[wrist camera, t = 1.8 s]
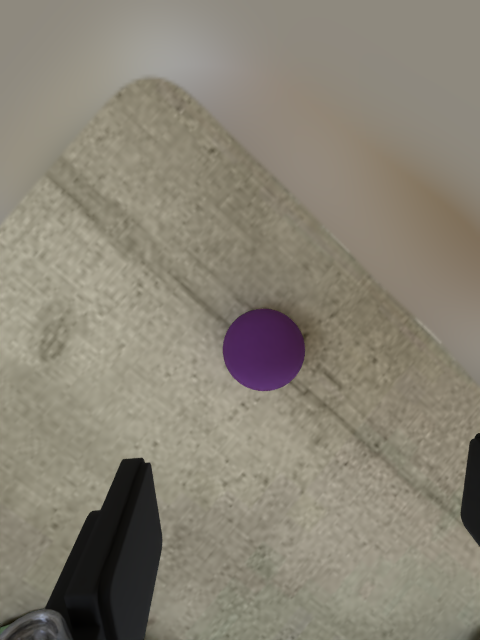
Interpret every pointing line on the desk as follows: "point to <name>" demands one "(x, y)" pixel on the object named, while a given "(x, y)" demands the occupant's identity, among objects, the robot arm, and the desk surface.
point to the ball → (263, 349)
